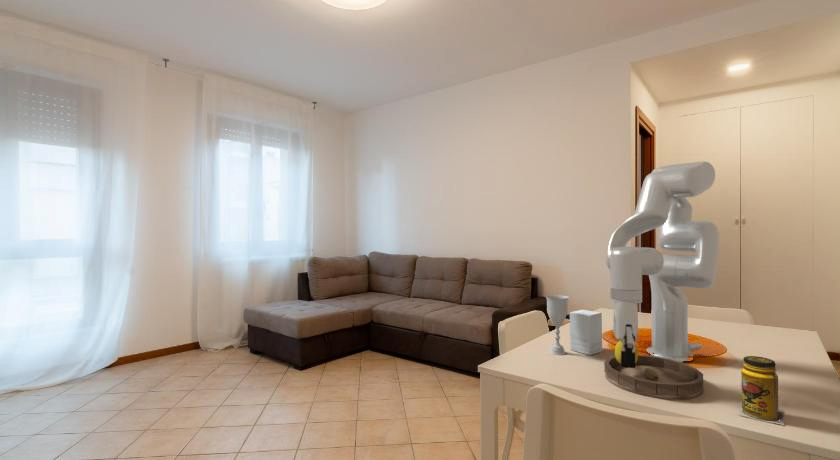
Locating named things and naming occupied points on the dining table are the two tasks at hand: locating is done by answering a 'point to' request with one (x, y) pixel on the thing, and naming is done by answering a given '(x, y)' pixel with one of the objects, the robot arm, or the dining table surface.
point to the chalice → (557, 318)
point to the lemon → (619, 349)
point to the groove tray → (661, 376)
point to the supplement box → (586, 331)
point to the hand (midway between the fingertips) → (626, 362)
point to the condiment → (760, 390)
